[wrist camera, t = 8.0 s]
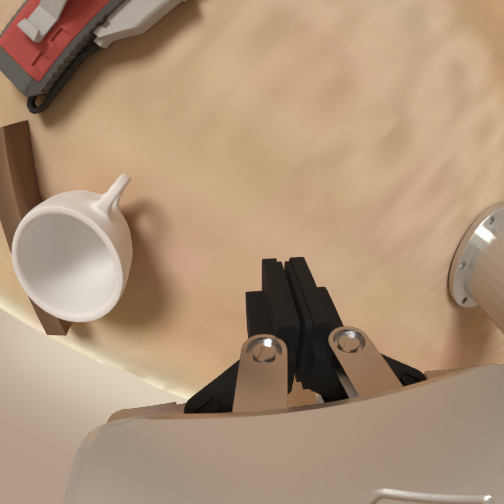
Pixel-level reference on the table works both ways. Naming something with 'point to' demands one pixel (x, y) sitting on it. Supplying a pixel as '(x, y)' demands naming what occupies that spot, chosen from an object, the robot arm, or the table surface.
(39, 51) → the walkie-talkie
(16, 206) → the stop bar
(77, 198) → the teacup
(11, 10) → the table surface
